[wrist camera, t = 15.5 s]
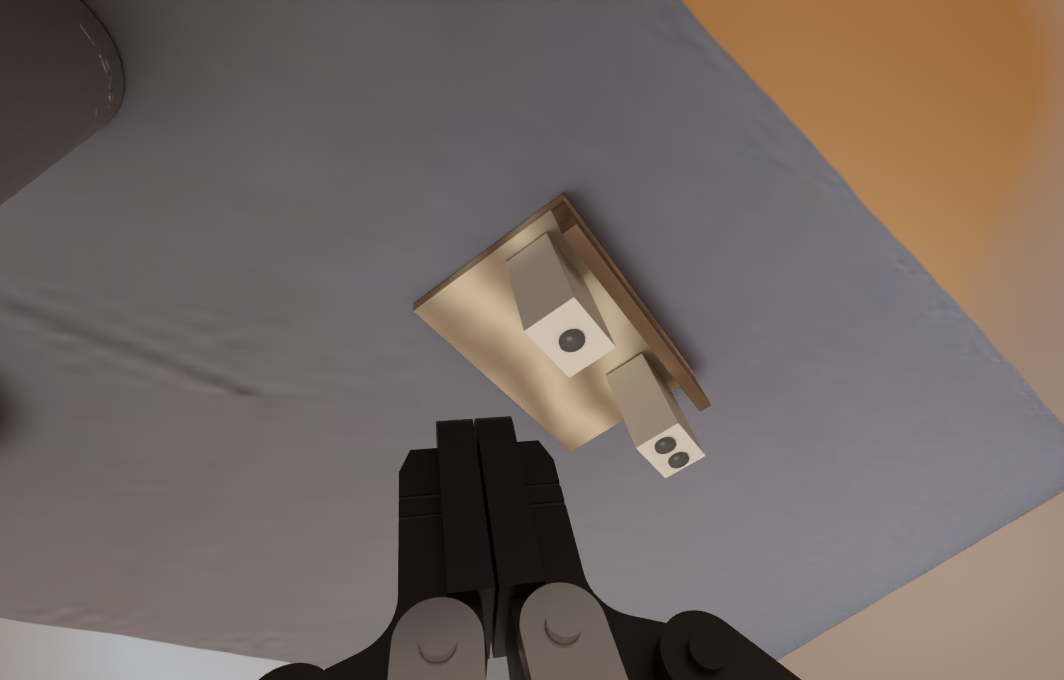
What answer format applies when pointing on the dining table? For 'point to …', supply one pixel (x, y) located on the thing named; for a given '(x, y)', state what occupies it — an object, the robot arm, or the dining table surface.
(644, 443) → the key two
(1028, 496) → the dining table surface
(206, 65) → the dining table surface
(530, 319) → the key one
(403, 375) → the dining table surface
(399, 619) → the robot arm
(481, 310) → the console
